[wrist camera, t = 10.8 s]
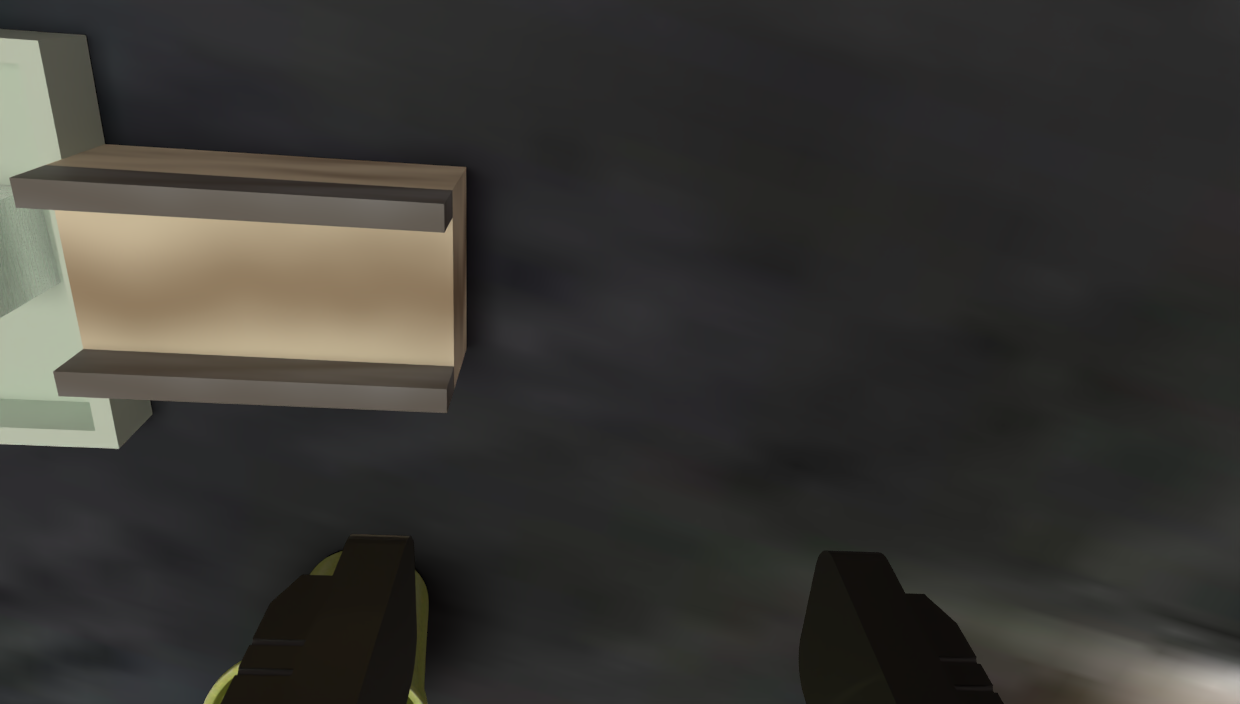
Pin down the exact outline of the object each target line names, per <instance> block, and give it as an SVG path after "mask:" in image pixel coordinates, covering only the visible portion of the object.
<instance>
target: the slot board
mask: <svg viewBox="0 0 1240 704" xmlns="http://www.w3.org/2000/svg"><path fill="white" fill-rule="evenodd" d="M9 179H10V184H11V188H12V193H13V197H14V201H15V206H16V208H28V209H45V210H55V215H56V220H57V225H58V230H59V234H60V239H61V244H62V249H63V254H64V259H65V263H66V268H67V273H68V278H69V283H70V287H71V292H72V297H73V302H74V307H75V312H76V316H77V321H78V326H79V331H80V336H81V341H82V345H83V349H82V350H81V351H80V352H78V353H77V354H76V355H74V356H73V357H72V358H70V359H69V360H68V361H66V362H65V363H64V364H62V365H61V366H60V367H58V368H57V369H56V370H54V371H53V374H54V378H55V383H56V387H57V392H58V396H64V397H87V398H110V399H134V400H157V401H180V402H203V403H226V404H250V405H273V406H296V407H319V408H343V409H366V410H389V411H412V412H435V413H447V411H448V408H449V404H450V401H451V398H452V395H453V391H454V388H455V385H456V381H457V378H458V375H459V372H460V368H461V365H462V362H463V359H464V355H465V352H466V349H467V290H466V167H456V166H440V165H425V164H409V163H393V162H378V161H362V160H346V159H331V158H315V157H299V156H283V155H268V154H252V153H236V152H221V151H205V150H189V149H174V148H158V147H142V146H127V145H111V144H104V145H101V146H98V147H95V148H93V149H90V150H87V151H84V152H81V153H78V154H75V155H72V156H70V157H67V158H64V159H61V160H58V161H55V162H52V163H50V164H47V165H44V166H41V167H38V168H35V169H32V170H30V171H27V172H24V173H21V174H18V175H15V176H12V177H10V178H9Z"/></svg>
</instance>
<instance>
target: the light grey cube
mask: <svg viewBox="0 0 1240 704" xmlns="http://www.w3.org/2000/svg"><path fill="white" fill-rule="evenodd" d="M59 283H61V281H60V277H59V273H58V269H57V265H56V261H55V257H54V253H53V249H52V245H51V241H50V236H49V232H48V228H47V224H46V220H45V216H44V212H43V209H28V208H16V206H15V201H14V197H13V193H12V188H11V185H0V318H1V317H3V316H5V315H6V314H8V313H10V312H11V311H13V310H15V309H17V308H18V307H20V306H22V305H23V304H25V303H27V302H29V301H30V300H32V299H34V298H35V297H37V296H39V295H40V294H42V293H44V292H46V291H47V290H49V289H51V288H52V287H54V286H56V285H58V284H59Z"/></svg>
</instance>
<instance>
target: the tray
mask: <svg viewBox="0 0 1240 704" xmlns="http://www.w3.org/2000/svg"><path fill="white" fill-rule="evenodd" d="M104 144H105V141H104V135H103V130H102V124H101V118H100V113H99V107H98V101H97V96H96V90H95V84H94V79H93V73H92V67H91V62H90V56H89V50H88V45H87V39H86V35H77V34H63V33H49V32H36V31H22V30H8V29H0V185H11V184H10V179H9V178H10V177H12V176H15V175H18V174H21V173H24V172H27V171H30V170H32V169H35V168H38V167H41V166H44V165H47V164H50V163H52V162H55V161H58V160H61V159H64V158H67V157H70V156H72V155H75V154H78V153H81V152H84V151H87V150H90V149H93V148H95V147H98V146H101V145H104ZM43 212H44V216H45V220H46V224H47V228H48V232H49V236H50V241H51V245H52V249H53V253H54V257H55V261H56V265H57V269H58V273H59V277H60V281H61V283H59V284H58V285H56V286H54V287H52V288H51V289H49V290H47V291H46V292H44V293H42V294H40V295H39V296H37V297H35V298H34V299H32V300H30V301H29V302H27V303H25V304H23V305H22V306H20V307H18V308H17V309H15V310H13V311H11V312H10V313H8V314H6V315H5V316H3V317H1V318H0V444H14V445H39V446H65V447H91V448H116V449H119V448H120V447H121V446H122V445H123V444H124V443H125V442H126V441H127V440H128V439H129V438H130V437H131V436H132V435H133V434H134V433H135V432H136V431H137V430H138V429H139V428H140V427H141V426H142V425H143V424H144V423H145V421H146V420H147V419H148V418H149V417H150V416H151V415H152V414H153V413H152V408H151V402H150V400H134V399H110V398H87V397H64V396H58V392H57V387H56V383H55V378H54V374H53V371H54V370H56V369H57V368H58V367H60V366H61V365H62V364H64V363H65V362H66V361H68V360H69V359H70V358H72V357H73V356H74V355H76V354H77V353H78V352H80V351H81V350H82V349H83V345H82V341H81V336H80V331H79V326H78V321H77V316H76V312H75V307H74V302H73V297H72V292H71V287H70V283H69V278H68V273H67V268H66V263H65V259H64V254H63V249H62V244H61V239H60V234H59V230H58V225H57V220H56V215H55V210H45V209H43Z"/></svg>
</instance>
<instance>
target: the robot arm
mask: <svg viewBox="0 0 1240 704" xmlns="http://www.w3.org/2000/svg"><path fill="white" fill-rule="evenodd" d="M416 645H417V616H416V586H415V556H414V542H413V538H412V537H411V536H396V535H366V534H352V535H350V536H349V538H348V540H347V542H346V544H345V546H344V549H343V551H342V554H341V556H340V559H339V561H338V563H337V566H336V568H335V571H334V573H333V575H332V576H331V575H301V576H300V577H299V578H298V579H297V580H296V581H295V582H293V583H292V584H291V585H290V586H289V587H288V588H287V589H286V590H285V591H283V592H282V593H281V594H280V595H279V596H278V597H277V598H276V599H275V600H273V601H272V602H271V603H270V605H269V607H268V609H267V611H266V613H265V615H264V617H263V619H262V621H261V623H260V625H259V627H258V629H257V631H256V633H255V635H254V637H253V643H252V645H249V647H248V649H247V651H246V653H245V655H244V657H243V659H242V661H241V663H240V665H239V667H238V674H237V675H234V677H233V679H232V681H231V683H230V685H229V687H228V689H227V691H226V694H225V696H224V698H223V700H222V702H221V704H407V700H408V696H409V691H410V687H411V683H412V678H413V672H414V665H415V657H416ZM799 672H800V680H801V686H802V691H803V694H804V697H805V701H806V704H1004V703H1003V702H1002V700H1001V698H1000V697H999V695H998V693H994V692H993V685H992V683H991V681H990V680H989V678H988V676H987V674H986V673H985V671H984V669H983V668H982V666H981V664H977V662H976V656H975V654H974V652H973V650H972V649H971V647H970V645H969V644H968V642H967V640H966V638H965V637H964V635H963V633H962V632H961V630H960V628H959V626H958V625H957V623H956V622H955V621H953V620H952V619H951V618H950V617H949V616H948V615H947V614H946V613H945V612H943V611H942V610H941V609H940V608H939V607H938V606H937V605H936V604H935V603H933V602H932V601H931V600H930V599H929V598H928V597H927V596H926V595H925V594H905V592H904V590H903V588H902V586H901V584H900V582H899V581H898V579H897V577H896V575H895V573H894V571H893V569H892V567H891V565H890V564H889V562H888V560H887V558H886V557H885V556H884V555H883V554H882V553H879V552H851V551H823V552H822V553H821V554H820V555H819V557H818V560H817V563H816V567H815V572H814V577H813V581H812V586H811V591H810V596H809V600H808V605H807V610H806V615H805V620H804V624H803V629H802V634H801V639H800V646H799Z"/></svg>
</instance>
